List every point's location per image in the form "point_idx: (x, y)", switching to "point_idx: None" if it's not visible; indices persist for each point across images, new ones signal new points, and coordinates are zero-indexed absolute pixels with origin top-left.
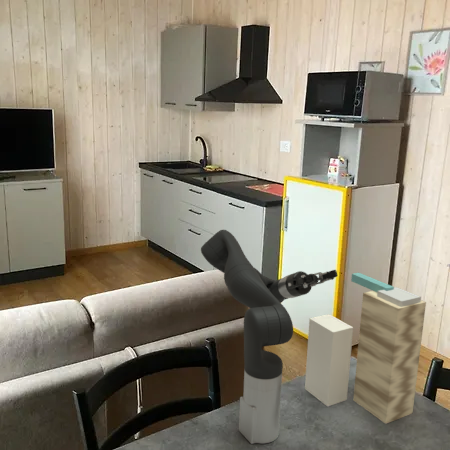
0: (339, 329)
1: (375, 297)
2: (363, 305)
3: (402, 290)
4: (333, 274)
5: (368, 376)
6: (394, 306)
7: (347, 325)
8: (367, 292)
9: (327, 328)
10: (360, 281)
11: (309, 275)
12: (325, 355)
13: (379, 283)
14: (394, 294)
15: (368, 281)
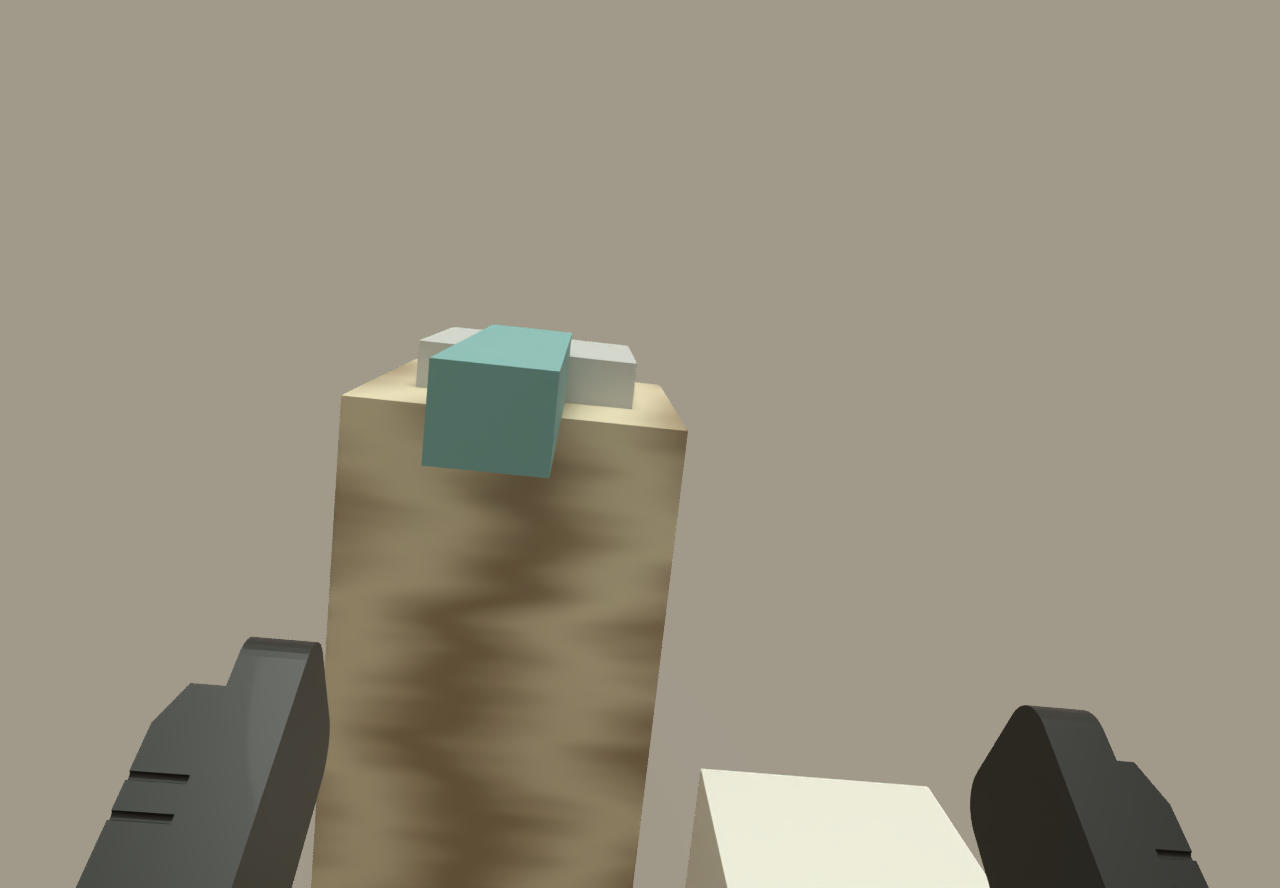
0: (846, 789)
1: (660, 411)
2: (672, 538)
3: (453, 337)
4: (308, 765)
5: None
6: (656, 388)
7: (727, 797)
8: (644, 424)
9: (951, 834)
10: (559, 405)
11: (1127, 813)
12: None
13: (532, 336)
14: (575, 348)
15: (566, 355)
